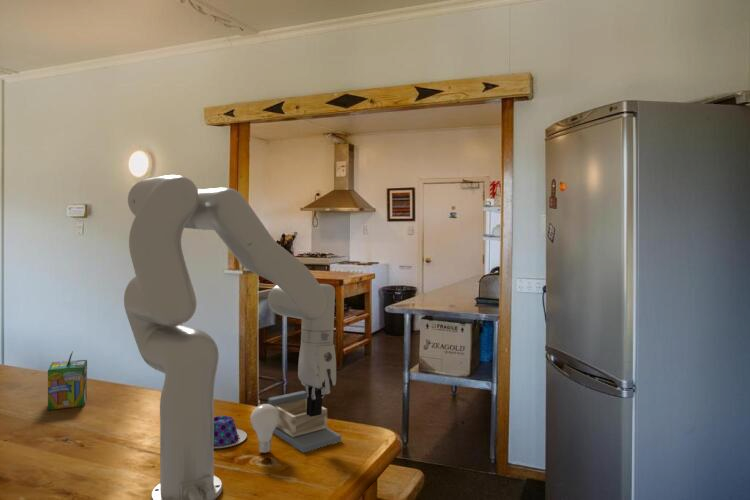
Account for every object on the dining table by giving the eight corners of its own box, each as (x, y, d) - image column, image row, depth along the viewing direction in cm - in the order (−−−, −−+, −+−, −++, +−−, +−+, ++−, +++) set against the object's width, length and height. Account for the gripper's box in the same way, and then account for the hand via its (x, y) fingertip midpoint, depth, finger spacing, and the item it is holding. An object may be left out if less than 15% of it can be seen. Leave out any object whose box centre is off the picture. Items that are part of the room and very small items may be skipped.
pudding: (192, 435, 125) (192, 414, 125) (241, 428, 131) (241, 408, 130) (197, 455, 115) (197, 432, 114) (251, 446, 120) (251, 424, 120)
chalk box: (51, 401, 149) (51, 350, 149) (87, 397, 153) (87, 348, 152) (46, 411, 141) (46, 357, 140) (84, 406, 144) (84, 354, 144)
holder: (327, 427, 126) (327, 408, 126) (292, 437, 120) (292, 417, 120) (306, 416, 134) (306, 398, 134) (272, 424, 128) (273, 405, 128)
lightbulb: (272, 460, 112) (272, 410, 111) (245, 457, 113) (245, 408, 113) (283, 448, 118) (283, 401, 118) (257, 445, 119) (257, 399, 119)
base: (341, 441, 122) (341, 408, 122) (303, 453, 115) (303, 418, 115) (303, 420, 136) (303, 390, 135) (267, 429, 129) (267, 398, 129)
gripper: (349, 340, 116) (345, 421, 116) (313, 330, 128) (310, 404, 128) (321, 343, 111) (317, 427, 111) (287, 332, 123) (283, 408, 123)
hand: (313, 414), depth 120 cm, fingers closed
